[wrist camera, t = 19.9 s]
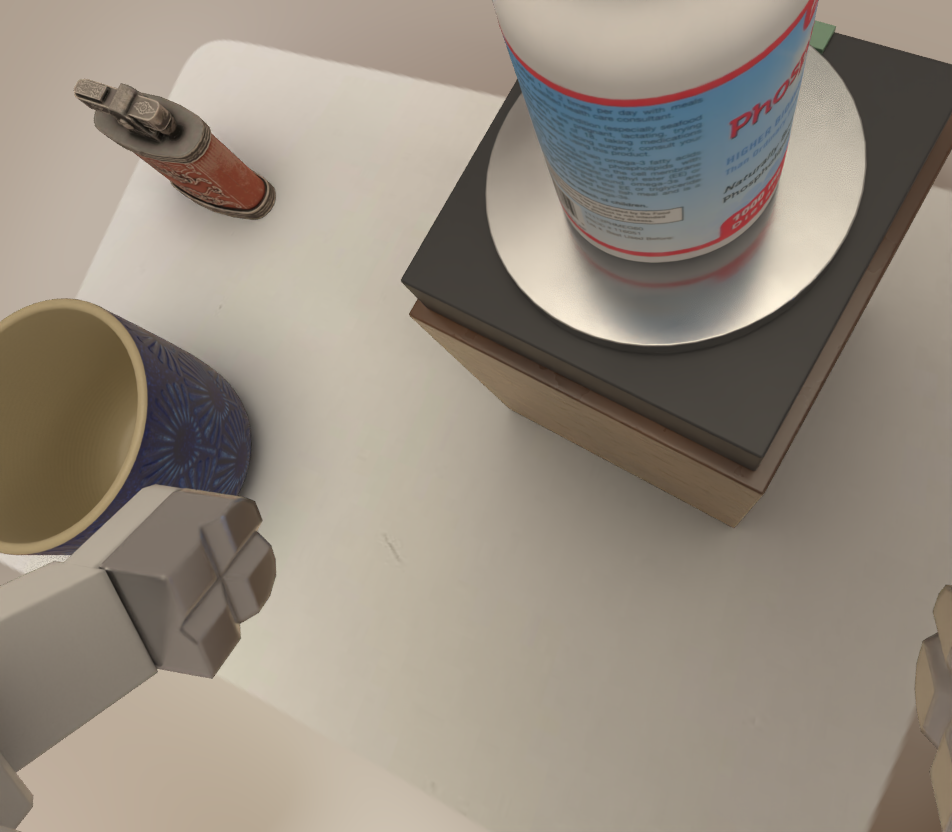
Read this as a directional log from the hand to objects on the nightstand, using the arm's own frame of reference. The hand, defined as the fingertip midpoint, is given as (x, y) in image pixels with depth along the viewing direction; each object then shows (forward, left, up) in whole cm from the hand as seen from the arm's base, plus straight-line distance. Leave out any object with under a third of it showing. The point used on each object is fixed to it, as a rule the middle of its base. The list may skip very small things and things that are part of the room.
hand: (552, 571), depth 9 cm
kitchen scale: (+4, -10, -14) cm, 18 cm away
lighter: (+35, -8, -29) cm, 46 cm away
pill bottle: (+4, -10, -11) cm, 16 cm away
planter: (+27, +8, -29) cm, 41 cm away
